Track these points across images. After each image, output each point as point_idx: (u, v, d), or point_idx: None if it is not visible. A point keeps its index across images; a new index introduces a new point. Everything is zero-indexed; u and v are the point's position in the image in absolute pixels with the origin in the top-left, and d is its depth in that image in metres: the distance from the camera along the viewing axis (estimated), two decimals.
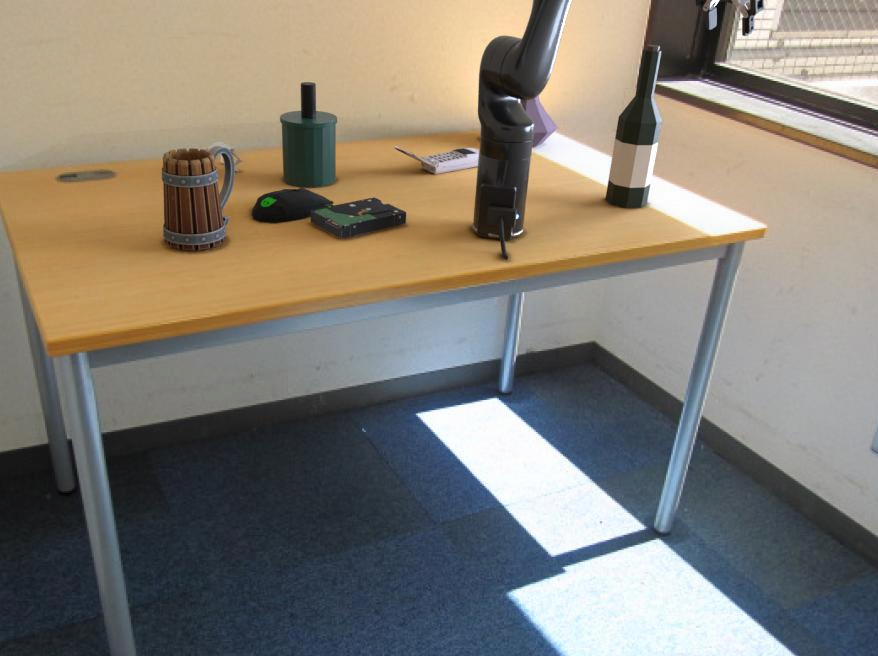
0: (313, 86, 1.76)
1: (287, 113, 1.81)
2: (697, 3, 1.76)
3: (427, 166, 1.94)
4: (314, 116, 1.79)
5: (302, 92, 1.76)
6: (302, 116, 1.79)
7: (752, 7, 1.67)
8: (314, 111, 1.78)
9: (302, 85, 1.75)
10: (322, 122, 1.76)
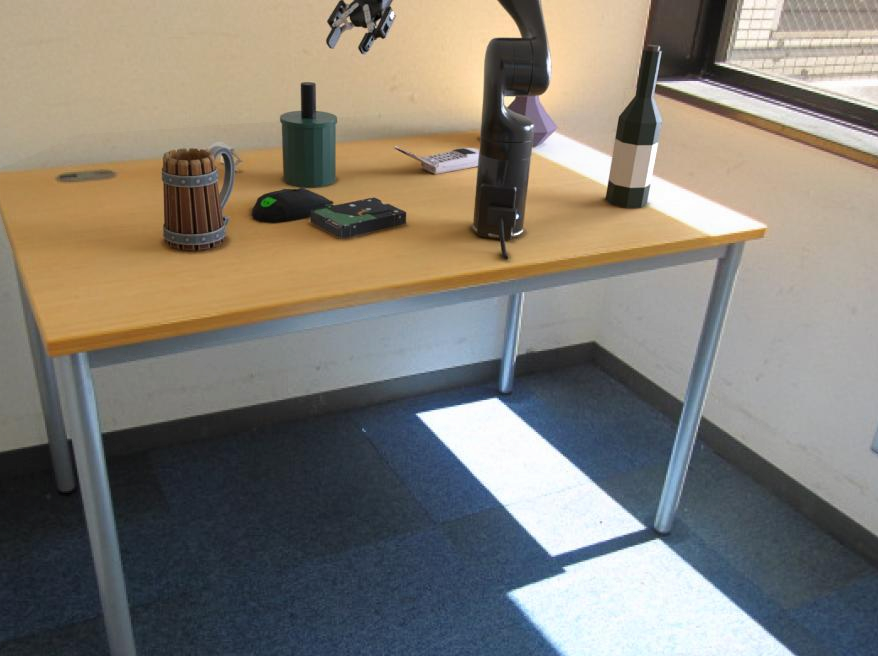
0: (313, 86, 1.76)
1: (287, 113, 1.81)
2: (329, 19, 1.84)
3: (427, 166, 1.94)
4: (314, 116, 1.79)
5: (302, 92, 1.76)
6: (302, 116, 1.79)
7: (380, 24, 1.78)
8: (314, 111, 1.78)
9: (302, 85, 1.75)
10: (322, 122, 1.76)
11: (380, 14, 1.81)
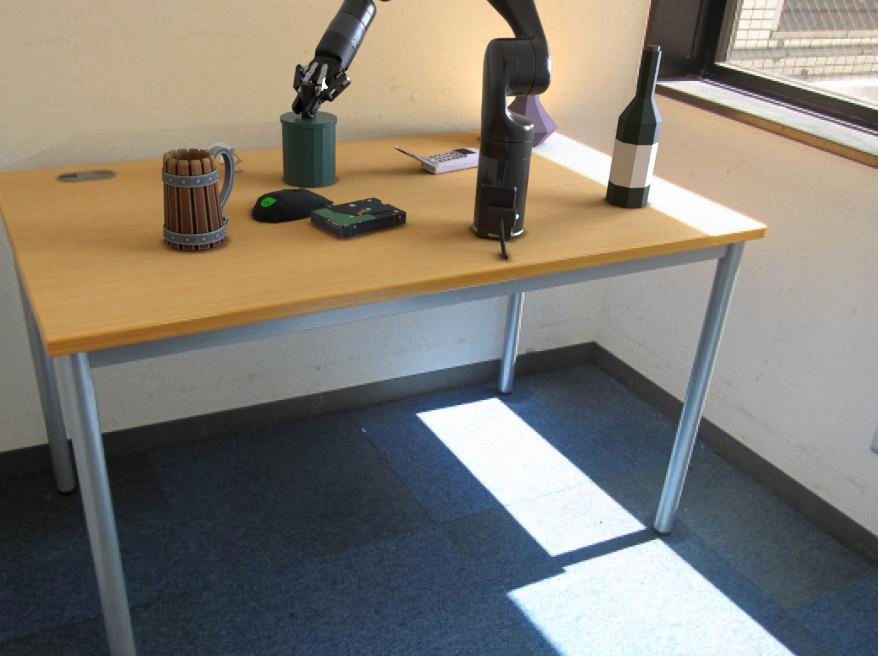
0: (313, 86, 1.76)
1: (287, 113, 1.81)
2: (295, 84, 1.79)
3: (427, 166, 1.94)
4: (314, 116, 1.79)
5: (302, 92, 1.76)
6: (302, 116, 1.79)
7: (329, 88, 1.75)
8: None
9: (302, 85, 1.75)
10: (322, 122, 1.76)
11: (338, 75, 1.77)
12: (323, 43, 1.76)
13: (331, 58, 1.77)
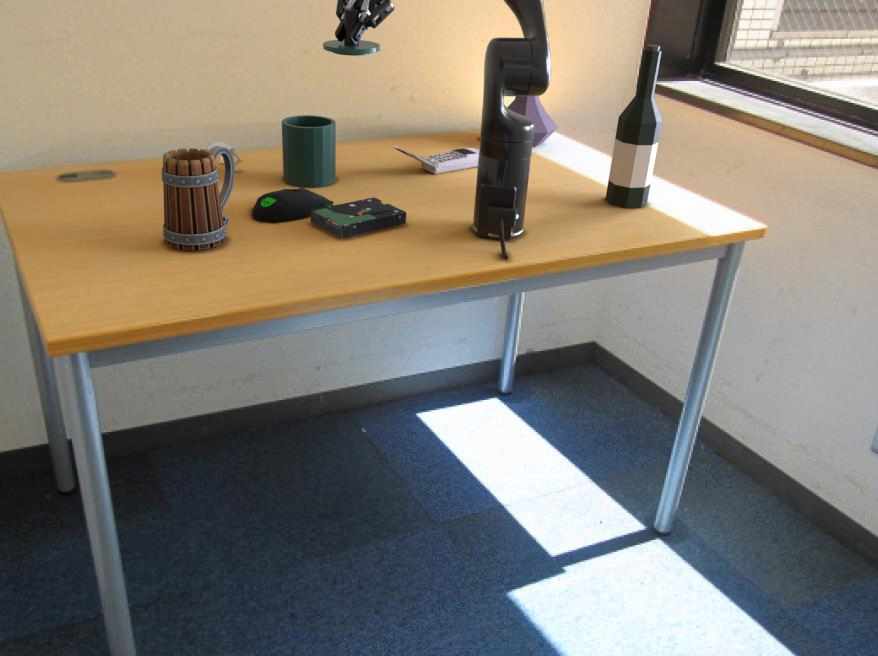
0: (357, 12, 1.76)
1: (329, 41, 1.82)
2: (338, 12, 1.80)
3: (427, 166, 1.94)
4: (357, 43, 1.79)
5: (345, 18, 1.77)
6: (345, 43, 1.79)
7: (372, 13, 1.76)
8: None
9: (346, 11, 1.76)
10: (366, 48, 1.77)
11: (381, 1, 1.78)
12: None
13: None
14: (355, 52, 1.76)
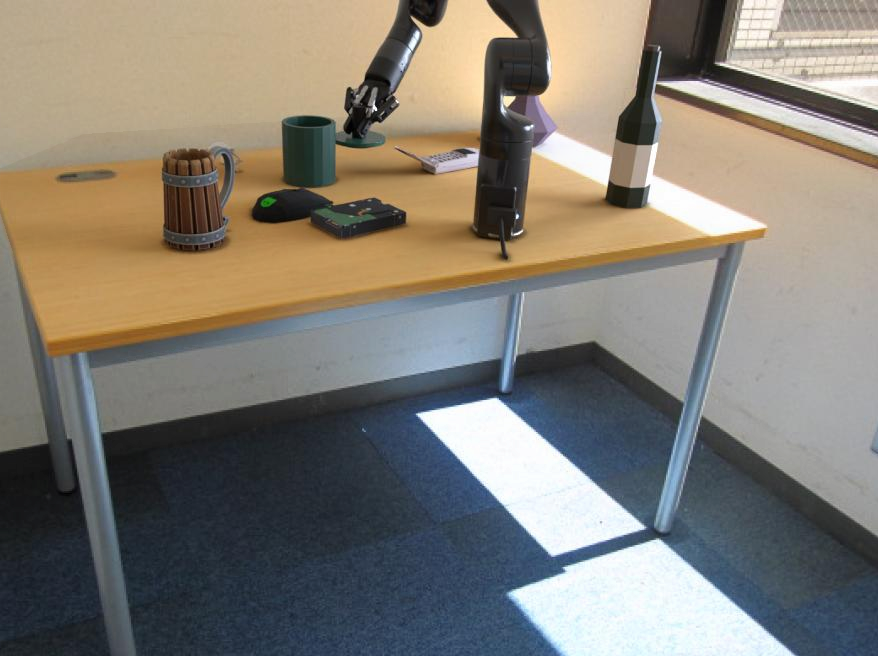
0: (364, 108, 1.87)
1: (338, 133, 1.93)
2: (346, 106, 1.91)
3: (427, 166, 1.94)
4: (364, 136, 1.91)
5: (353, 113, 1.88)
6: (353, 136, 1.90)
7: (379, 110, 1.87)
8: None
9: (354, 107, 1.87)
10: (372, 142, 1.88)
11: (387, 97, 1.89)
12: (373, 68, 1.88)
13: (381, 81, 1.89)
14: (362, 146, 1.87)
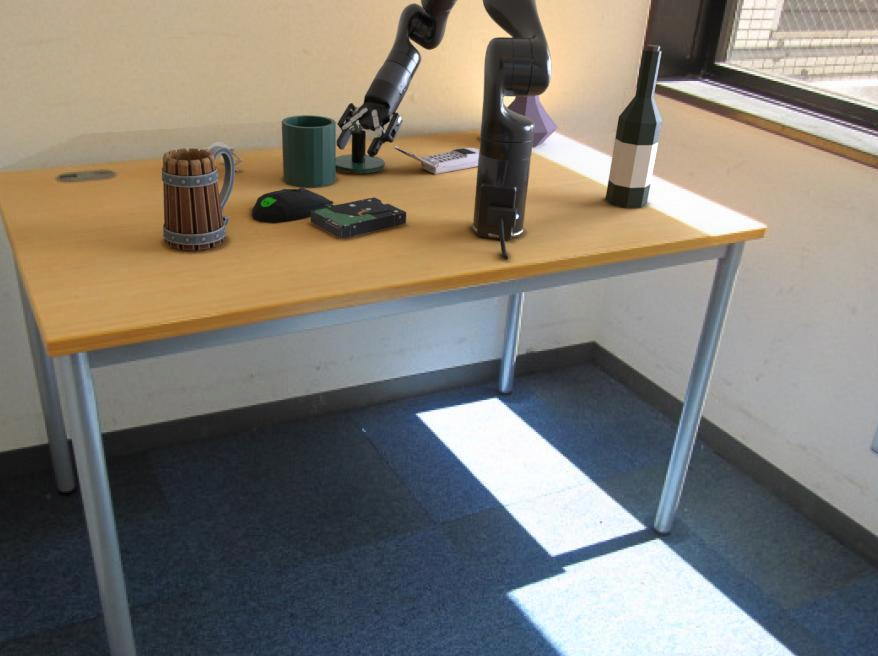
0: (363, 134, 1.90)
1: (338, 157, 1.96)
2: (339, 122, 1.95)
3: (427, 166, 1.94)
4: (364, 161, 1.93)
5: (353, 139, 1.91)
6: (353, 161, 1.93)
7: (388, 129, 1.88)
8: (364, 156, 1.93)
9: (353, 133, 1.90)
10: (372, 167, 1.91)
11: (388, 119, 1.91)
12: (373, 90, 1.90)
13: (380, 104, 1.91)
14: (362, 171, 1.89)
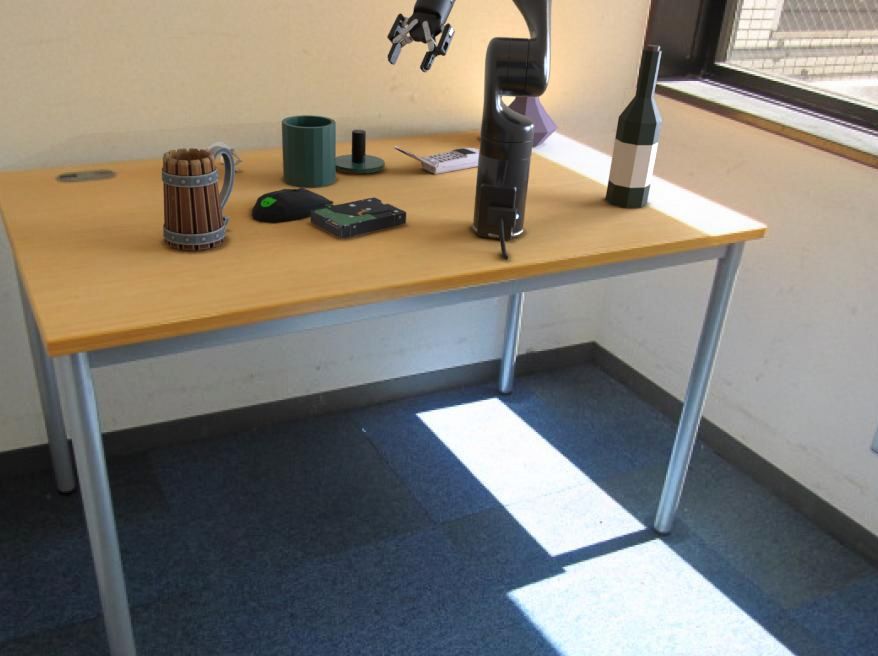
0: (363, 134, 1.90)
1: (338, 157, 1.96)
2: (389, 35, 1.90)
3: (427, 166, 1.94)
4: (364, 161, 1.93)
5: (353, 139, 1.91)
6: (353, 161, 1.93)
7: (440, 42, 1.84)
8: (364, 156, 1.93)
9: (353, 133, 1.90)
10: (372, 167, 1.91)
11: (439, 30, 1.86)
12: (423, 0, 1.85)
13: (431, 14, 1.86)
14: (362, 171, 1.89)
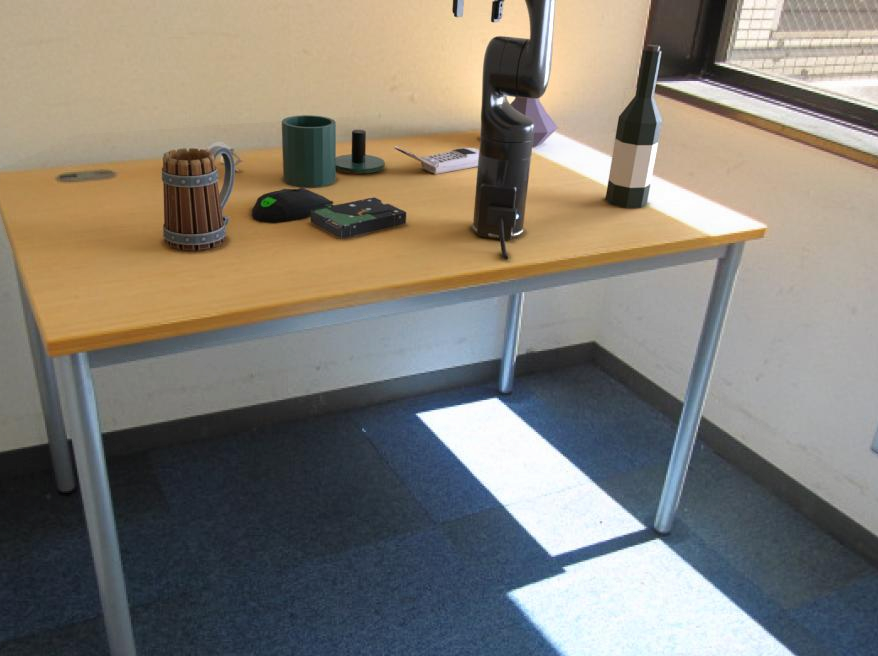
0: (363, 134, 1.90)
1: (338, 157, 1.96)
2: None
3: (427, 166, 1.94)
4: (364, 161, 1.93)
5: (353, 139, 1.91)
6: (353, 161, 1.93)
7: None
8: (364, 156, 1.93)
9: (353, 133, 1.90)
10: (372, 167, 1.91)
11: None
12: None
13: None
14: (362, 171, 1.89)
